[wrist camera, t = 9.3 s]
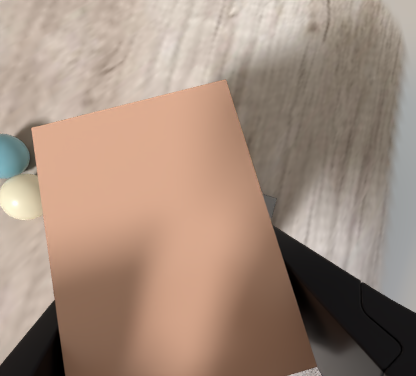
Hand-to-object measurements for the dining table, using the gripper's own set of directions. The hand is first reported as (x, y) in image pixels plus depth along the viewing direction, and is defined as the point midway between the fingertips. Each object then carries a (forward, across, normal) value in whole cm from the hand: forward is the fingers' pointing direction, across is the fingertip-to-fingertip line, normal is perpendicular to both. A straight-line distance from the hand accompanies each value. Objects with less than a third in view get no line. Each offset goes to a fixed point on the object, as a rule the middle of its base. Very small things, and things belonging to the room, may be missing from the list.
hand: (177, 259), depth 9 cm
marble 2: (+12, +10, +2) cm, 15 cm away
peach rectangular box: (+6, 0, +5) cm, 7 cm away
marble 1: (+14, +11, 0) cm, 18 cm away
